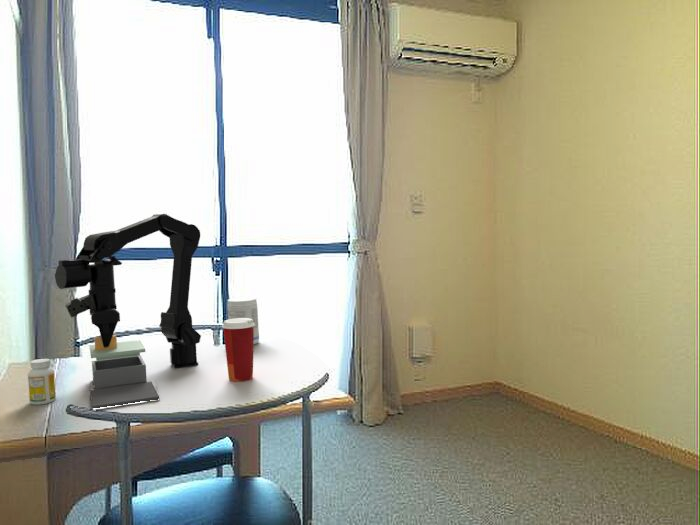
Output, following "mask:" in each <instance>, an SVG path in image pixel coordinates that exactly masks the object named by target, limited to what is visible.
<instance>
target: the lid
mask: <svg viewBox="0 0 700 525" xmlns="http://www.w3.org/2000/svg"><path fill="white" fill-rule="evenodd" d="M141 353H146V348H145V346H144V344H143V343H142V341H141V339H140V340H139V339H137V340H130V341H129V340H127V341H119V342H118V341H117V334H113V336H112V339H111V342H110V344H109V347H104V345H103V342H102V338H101V335H100V336H94V344H92V345H89V354H90V359H95V361H99V360H107V359H116V358H124V357H133V356H140V355H141Z"/></svg>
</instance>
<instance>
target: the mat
mask: <svg viewBox="0 0 700 525" xmlns="http://www.w3.org/2000/svg"><path fill="white" fill-rule="evenodd" d="M89 392H90V394H89V395H90V402H91V409H92V408H100V407H107V406H115V405H123V404H128V403H135V402H140V401H150V400H158V399H159V400H160V395H159V394H158V391H157V390H156V387H155V385H154V384H153V382H152V381H147V382H144V383H137V384H130V385H123V386H116V387H108V388H101V389H94V388H93V389H89Z"/></svg>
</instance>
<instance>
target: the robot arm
mask: <svg viewBox="0 0 700 525" xmlns="http://www.w3.org/2000/svg"><path fill="white" fill-rule="evenodd" d="M156 232H160V233H161V234H162V235H164V236H165V237H167V238H169V246H170V249H171V251H172V254H173V263H172V264H173V265H172V275H171V276H172V277H171V289H170V297H169V298H170V299H169V306H168V308H167V310H166V312H163V311H162V312H161V313H160V324H159V327H160V329H161V330H160V331H161V333H162V335H163V336H164V337H165V338H166V341H167V343H169V344H170V343H171V348H169V359H170V362H169V363H170V364H171V365H172V366H173V367H174V368H177V369H178V368H183V367H191V366H192V367H193V366H198V365H199V362H198V359H197V357H198V356H197V355H198V354H197V344H199V343H200V342H201V337H202V335H201V334H200V333H199V332H198V331H196V330H195V328H193V318H192V316H191V312H190V310H189V294H190V285H191V284H190V283H191V282H190V281H191V273H192V260H193V255H194V254H195V252H196V251H197V249H198V247H199V244H200V239H201V230H200V229H199V228H198V227H197V226H196V225H195V224H190V223H189V224H188V223H187V222H186V221H182V220H180V219H176V218H174V217H172V216H170V215H168V214H167V213H156V214H153V215H151V216H149V217H147V218H144V219H143V220H139V221H136V222H134V223H132V224H130V225H127V226H124V227H122V228H121V227H120V228H118V229H117V230H111V231H103V232H99V233H92V234H89V235H88V236H86V237H85V239H84V241H83V245H82V246H83V247H82V248H81V250H80V252H79V253H78V254H77V256H76V258H75V259H71V260H68V259H61V260H60V259H59V260H58V265H57V267H56V268H55V273H54V279H55V283H56V286H57V287H58V288H59V290H66V289H73V288H80V287H81V288H82V287H83V288H84V287H87V285H88V284H89V289H88V294H87V295H84V296H80V297H75V298H74V299H71V300H70V302H67V303H66V304H65V308H66V310H67V312H68V314H69V316H70V318H74V317H77V316H78V315H79V314H81V313H85V312H86V311H89V316H90V320H91V324H92V325H94V326H95V327H97V328H98V330H99V333H100V336H101V338H102V342H103V345H104V347H109V344H110V342H111V339H112V336H113V335H114V333H115V331H116V328H117V325H118V323H119V322H121V315H120V312H119V310H117V302H116V288H115V286H116V285H115V273H114V272H115V270H114V266H121V265H123V263H122V261H120V260H119V259H117V258H116V256H114V255H116V254H117V253H118V252H119V251H121V250H122V249H123V248H124V247H125V246H126V245H127V244H129V243H130V244H131V242H134V241H137V240H139V239H142V238H144V237H147V236H149V235H151V234H154V233H156Z"/></svg>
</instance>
